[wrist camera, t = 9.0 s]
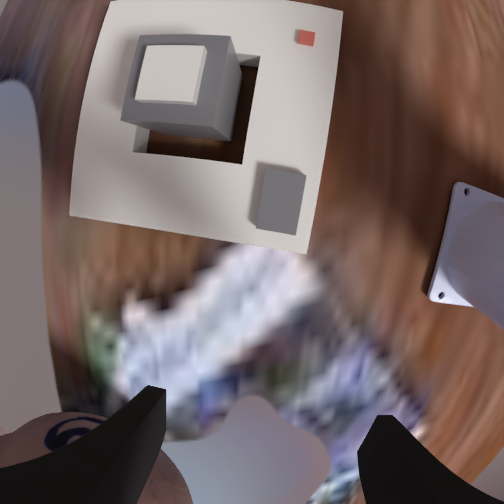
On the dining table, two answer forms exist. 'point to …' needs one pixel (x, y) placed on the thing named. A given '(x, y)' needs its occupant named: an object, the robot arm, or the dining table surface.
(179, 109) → the plug
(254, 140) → the socket plate
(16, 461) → the ceramic pitcher
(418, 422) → the dining table surface
